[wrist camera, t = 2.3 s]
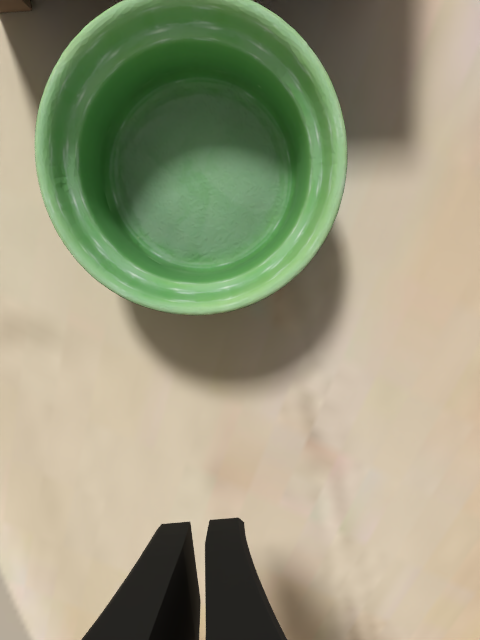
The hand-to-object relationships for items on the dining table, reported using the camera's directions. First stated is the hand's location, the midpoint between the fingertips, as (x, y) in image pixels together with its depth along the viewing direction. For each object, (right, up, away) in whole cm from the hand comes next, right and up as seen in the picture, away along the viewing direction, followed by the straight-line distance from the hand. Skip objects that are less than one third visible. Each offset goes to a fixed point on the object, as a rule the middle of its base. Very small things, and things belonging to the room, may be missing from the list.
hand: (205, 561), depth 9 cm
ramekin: (-1, +11, +8) cm, 13 cm away
